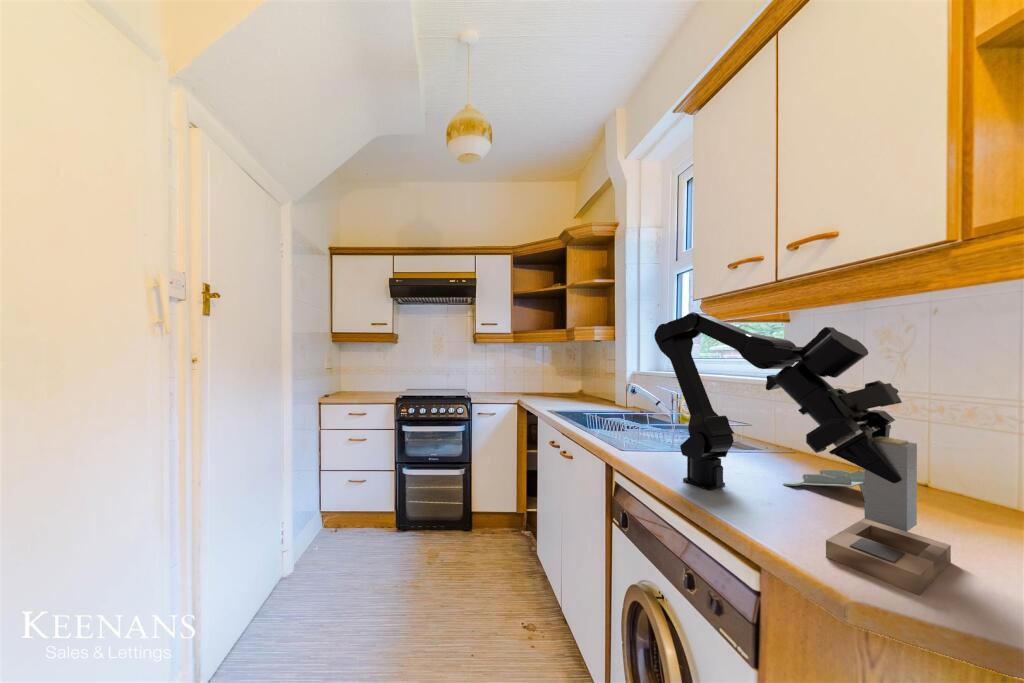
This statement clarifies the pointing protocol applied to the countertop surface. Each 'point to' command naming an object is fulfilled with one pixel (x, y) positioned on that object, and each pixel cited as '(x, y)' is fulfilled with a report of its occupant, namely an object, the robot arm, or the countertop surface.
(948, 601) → the countertop surface
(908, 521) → the grey tall block
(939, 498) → the countertop surface
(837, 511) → the countertop surface
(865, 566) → the plate with square hole
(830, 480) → the metal bracket
